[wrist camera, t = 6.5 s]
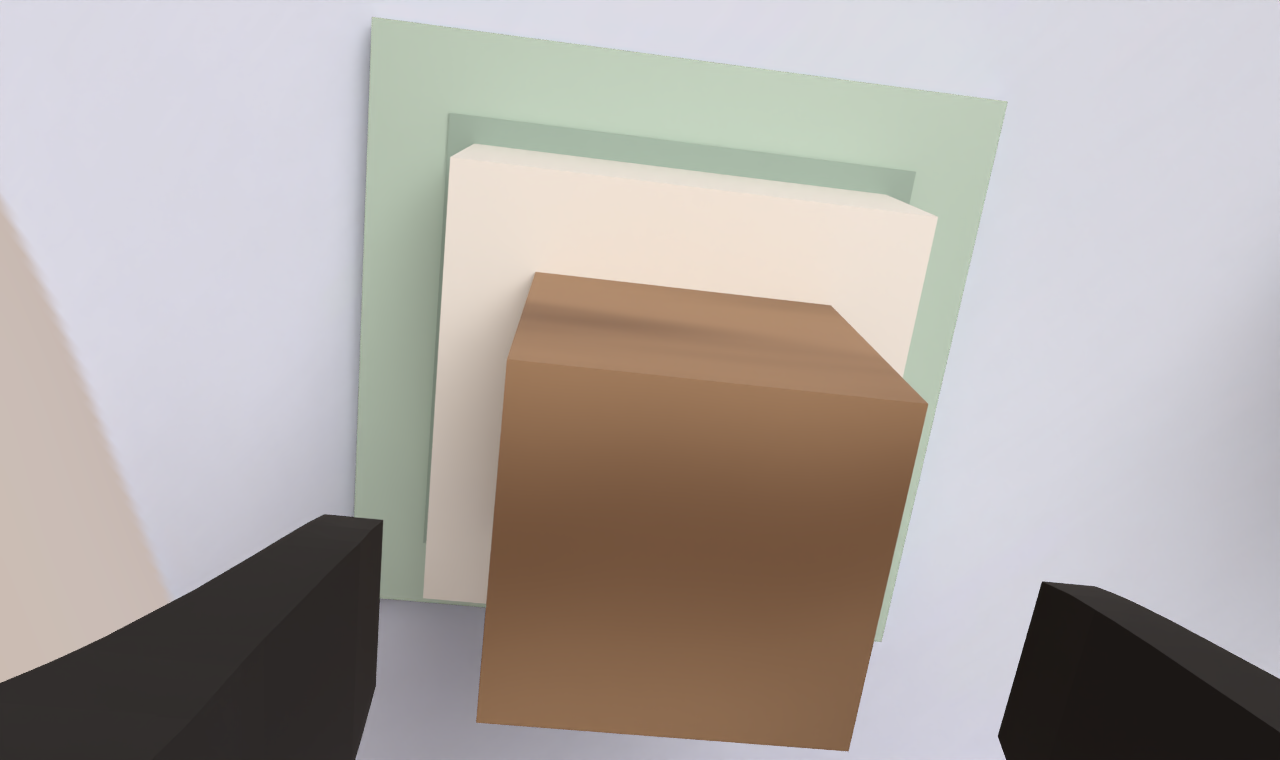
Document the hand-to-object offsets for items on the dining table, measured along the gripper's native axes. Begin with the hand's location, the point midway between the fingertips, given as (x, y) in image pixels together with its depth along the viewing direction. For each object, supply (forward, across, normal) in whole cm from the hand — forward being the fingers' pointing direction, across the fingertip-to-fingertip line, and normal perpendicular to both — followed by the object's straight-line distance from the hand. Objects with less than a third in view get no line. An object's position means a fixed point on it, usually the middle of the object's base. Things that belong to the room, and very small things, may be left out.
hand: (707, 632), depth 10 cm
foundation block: (+10, 0, 0) cm, 10 cm away
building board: (+10, 0, 0) cm, 10 cm away
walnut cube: (+7, 0, 0) cm, 7 cm away
